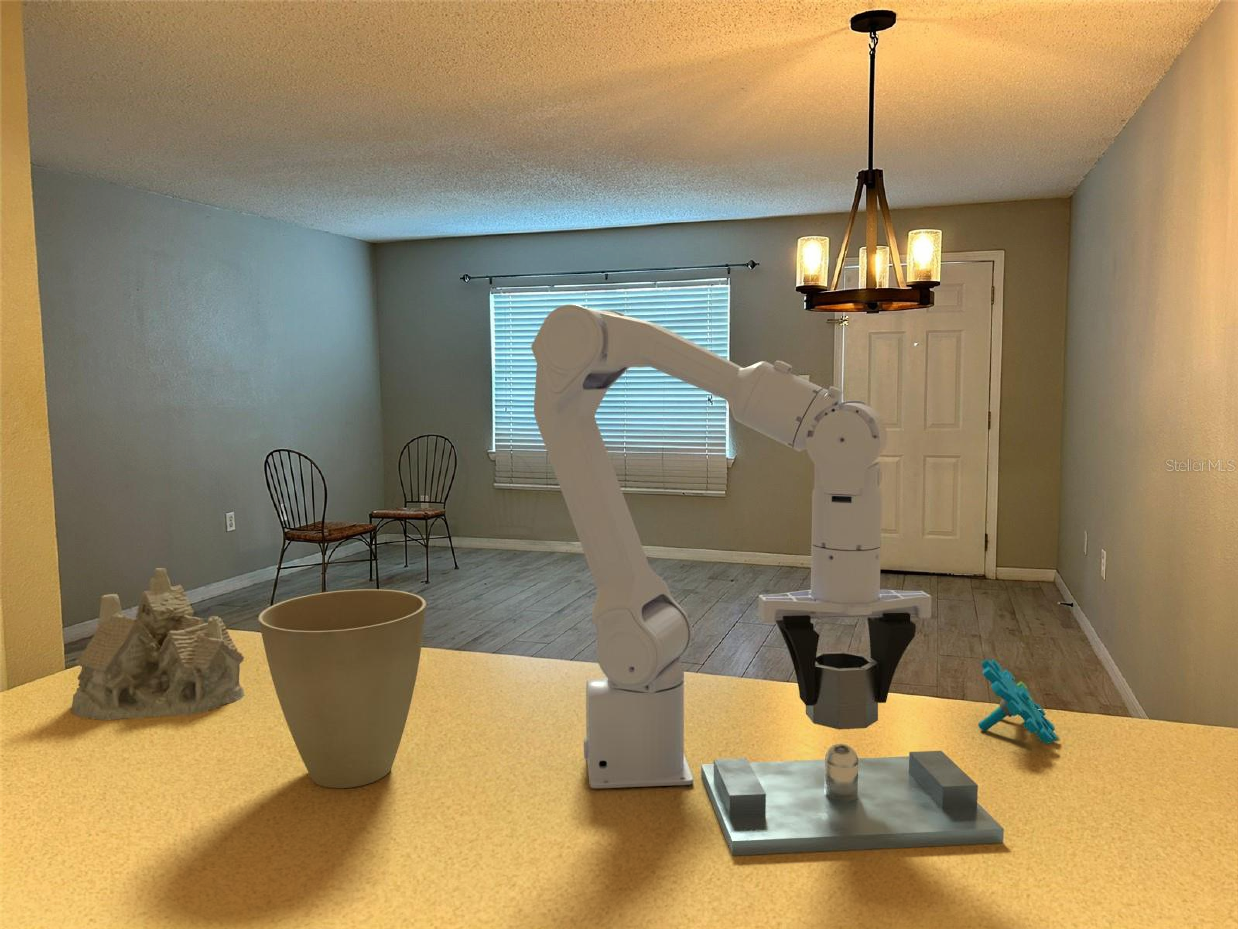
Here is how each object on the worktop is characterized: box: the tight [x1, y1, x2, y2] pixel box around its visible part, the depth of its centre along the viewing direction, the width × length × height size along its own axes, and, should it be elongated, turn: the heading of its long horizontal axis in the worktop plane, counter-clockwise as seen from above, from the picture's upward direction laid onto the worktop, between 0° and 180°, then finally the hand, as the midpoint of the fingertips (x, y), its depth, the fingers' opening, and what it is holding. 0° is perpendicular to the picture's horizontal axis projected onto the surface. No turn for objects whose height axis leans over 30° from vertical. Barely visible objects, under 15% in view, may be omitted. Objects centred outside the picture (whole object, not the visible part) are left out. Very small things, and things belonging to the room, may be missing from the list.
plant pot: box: [258, 588, 427, 789], centre depth 85 cm, size 15×15×16 cm
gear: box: [977, 659, 1059, 745], centre depth 95 cm, size 11×6×10 cm
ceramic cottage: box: [70, 567, 245, 721], centre depth 104 cm, size 16×16×15 cm
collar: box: [805, 650, 879, 731], centre depth 78 cm, size 6×6×5 cm
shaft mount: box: [700, 743, 1005, 856], centre depth 78 cm, size 22×14×6 cm, turn 95°
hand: (842, 700), depth 78 cm, fingers closed on collar, 6 cm apart
